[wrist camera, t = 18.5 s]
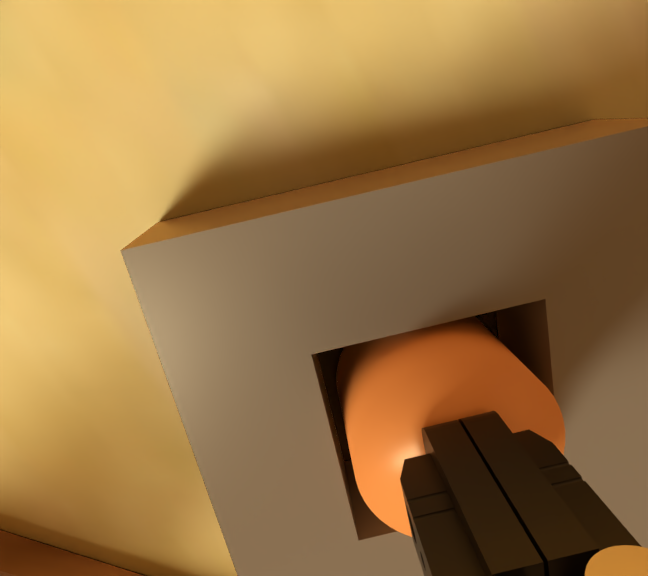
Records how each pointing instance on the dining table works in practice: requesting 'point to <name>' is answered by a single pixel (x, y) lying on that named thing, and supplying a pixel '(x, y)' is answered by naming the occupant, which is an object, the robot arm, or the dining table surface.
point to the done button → (430, 401)
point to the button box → (402, 325)
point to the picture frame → (48, 560)
